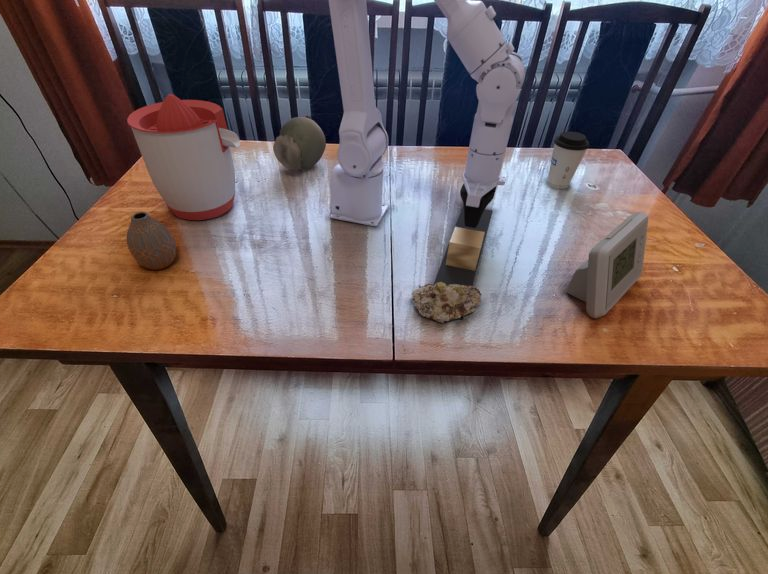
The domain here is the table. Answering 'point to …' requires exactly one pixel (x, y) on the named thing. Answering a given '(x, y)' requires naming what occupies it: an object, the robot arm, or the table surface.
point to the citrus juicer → (188, 155)
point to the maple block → (464, 248)
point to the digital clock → (611, 266)
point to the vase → (150, 242)
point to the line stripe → (459, 274)
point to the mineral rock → (446, 301)
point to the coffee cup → (566, 158)
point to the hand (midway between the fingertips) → (470, 225)
